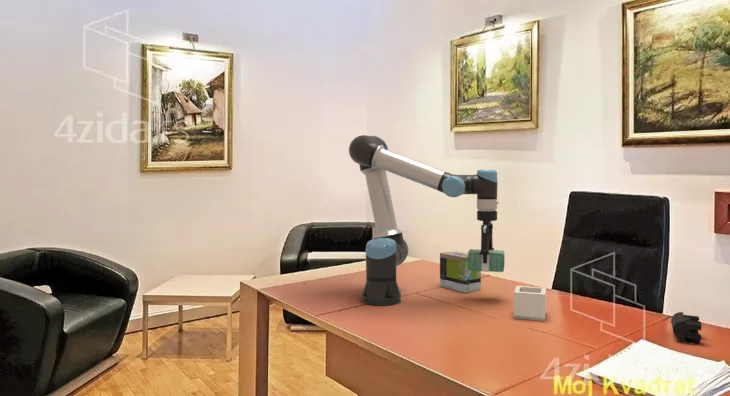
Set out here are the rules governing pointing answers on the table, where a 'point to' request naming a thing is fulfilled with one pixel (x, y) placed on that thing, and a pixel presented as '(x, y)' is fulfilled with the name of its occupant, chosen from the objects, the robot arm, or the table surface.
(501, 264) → the box
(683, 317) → the end cap
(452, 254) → the tea box
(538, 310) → the tub
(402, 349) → the table surface
